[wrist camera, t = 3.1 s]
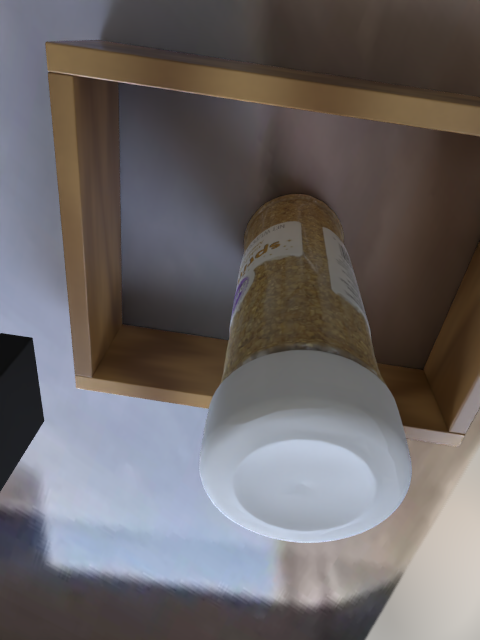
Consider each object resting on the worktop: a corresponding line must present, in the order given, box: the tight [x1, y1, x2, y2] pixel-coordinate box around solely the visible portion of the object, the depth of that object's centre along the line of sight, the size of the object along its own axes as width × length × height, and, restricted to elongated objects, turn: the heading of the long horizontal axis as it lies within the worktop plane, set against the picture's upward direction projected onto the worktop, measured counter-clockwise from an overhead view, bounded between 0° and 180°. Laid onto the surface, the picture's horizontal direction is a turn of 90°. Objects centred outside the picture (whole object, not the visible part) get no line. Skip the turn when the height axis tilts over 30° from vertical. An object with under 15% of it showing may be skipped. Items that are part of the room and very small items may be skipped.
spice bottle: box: [199, 194, 412, 543], centre depth 15 cm, size 5×5×14 cm
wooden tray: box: [45, 40, 480, 447], centre depth 19 cm, size 18×14×4 cm
